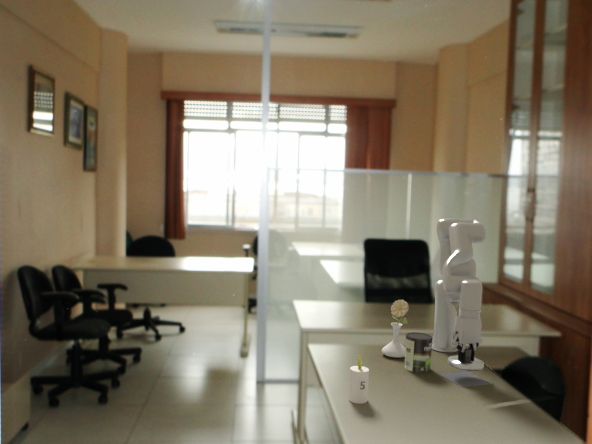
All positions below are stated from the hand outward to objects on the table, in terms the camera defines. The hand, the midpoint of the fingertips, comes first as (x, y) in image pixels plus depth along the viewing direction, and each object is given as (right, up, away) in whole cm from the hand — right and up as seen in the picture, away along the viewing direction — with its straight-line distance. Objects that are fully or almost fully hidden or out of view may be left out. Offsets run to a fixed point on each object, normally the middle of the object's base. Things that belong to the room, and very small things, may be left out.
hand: (465, 360), depth 198 cm
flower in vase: (-21, -5, +27) cm, 34 cm away
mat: (0, -8, 0) cm, 8 cm away
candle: (-43, -7, -22) cm, 49 cm away
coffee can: (-16, -7, +9) cm, 20 cm away
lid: (0, -2, 0) cm, 2 cm away
